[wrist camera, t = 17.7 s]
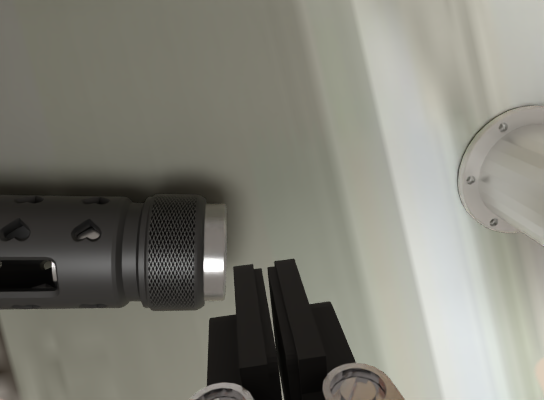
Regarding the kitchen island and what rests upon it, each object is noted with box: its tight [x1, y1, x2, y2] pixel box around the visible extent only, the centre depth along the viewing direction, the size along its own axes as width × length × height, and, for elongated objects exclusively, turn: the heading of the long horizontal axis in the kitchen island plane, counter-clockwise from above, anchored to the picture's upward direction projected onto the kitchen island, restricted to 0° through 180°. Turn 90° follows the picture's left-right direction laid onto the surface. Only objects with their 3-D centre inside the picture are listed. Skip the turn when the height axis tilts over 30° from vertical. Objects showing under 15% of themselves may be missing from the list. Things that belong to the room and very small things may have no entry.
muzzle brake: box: [0, 194, 227, 311], centre depth 36 cm, size 10×28×10 cm, turn 87°
